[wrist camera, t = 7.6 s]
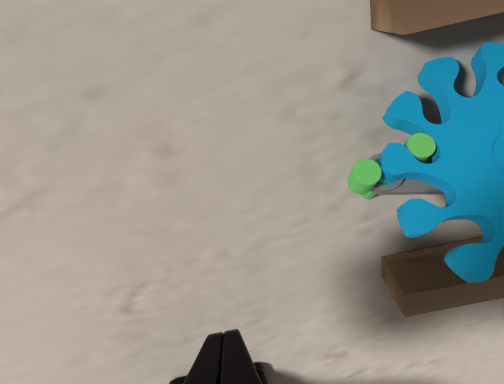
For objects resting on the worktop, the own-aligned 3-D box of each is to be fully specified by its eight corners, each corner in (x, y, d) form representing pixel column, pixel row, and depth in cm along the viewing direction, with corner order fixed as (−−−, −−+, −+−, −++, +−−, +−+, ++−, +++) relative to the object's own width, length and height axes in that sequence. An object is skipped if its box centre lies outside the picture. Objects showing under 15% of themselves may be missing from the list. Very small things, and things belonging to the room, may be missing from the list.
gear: (645, 22, 13) (748, 299, 11) (539, 104, 19) (587, 299, 16) (346, 39, 14) (366, 294, 12) (330, 112, 20) (340, 296, 17)
